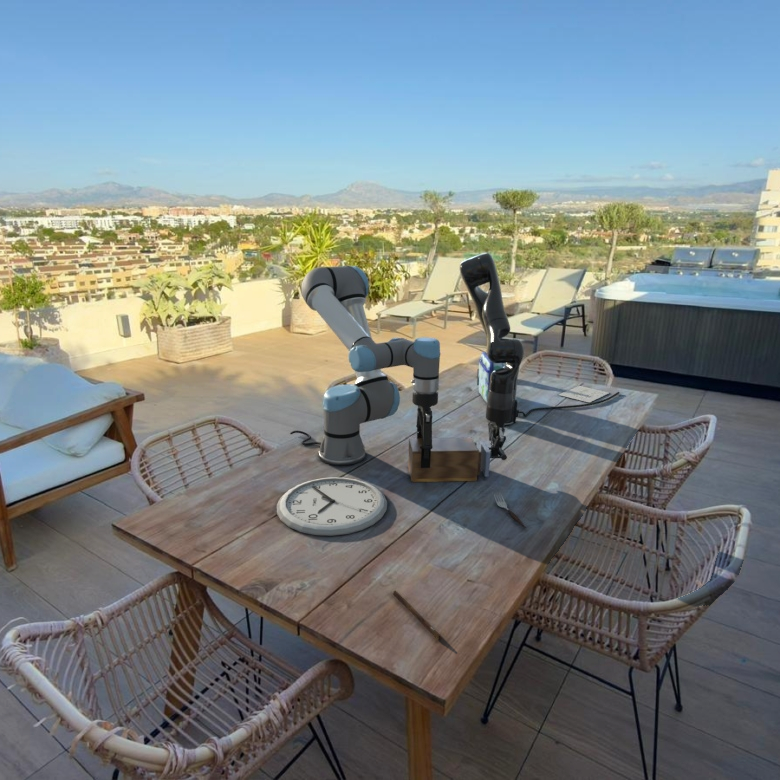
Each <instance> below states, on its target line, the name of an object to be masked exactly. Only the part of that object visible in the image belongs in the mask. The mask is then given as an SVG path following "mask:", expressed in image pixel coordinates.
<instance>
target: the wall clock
mask: <svg viewBox="0 0 780 780" xmlns="http://www.w3.org/2000/svg"><path fill="white" fill-rule="evenodd" d="M387 509H388V500H387V498H386V496H385V494H384V493H383V492H382V491H381V490H380V489H379V488H377V487H376V486H374V485H372V484H371V483H369V482H365V481H362V480H359V479H355V478H349V477H338V476H337V477H335V476H333V477H332V476H331V477H322V478H317V479H312V480H307V481H305V482H302V483H299V484H297V485H295V486H293V487H292V488H290V489H288V490H287V491H286V492H285V493H284V494H283V495H281V496H280V498H279V499H278V502H277V503H276V515H277V517H278V518H279V520H280V521H281V522H282V523H283V524H285V525H286V526H287V527H288V528H290V529H293V530H295V531H297V532H299V533H303V534H308V535H312V536H327V537H328V536H329V537H331V536H332V537H333V536H342V535H350V534H352V533H356V532H361V531H363V530H366V529H368V528H369V527H372V526H373V525H375V524H376V523H378V522H379V521H380V520H381V519H382V518H383V517H384V516H385V514H386V512H387Z"/></svg>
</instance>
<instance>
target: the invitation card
mask: <svg viewBox="0 0 780 780" xmlns="http://www.w3.org/2000/svg"><path fill="white" fill-rule="evenodd" d="M609 394H610V392H609V391H604V390H600V389H595V388H592V387H587V386H582V385H577V386H575V387H573V388H571V389H567V390H566V391H563V392H561V393H558V396H559V397H560V396H561V397H565V398H569V399H572V400H575V401H581V402H584V403H587V404H589V403H593V402H595V401H596V400H598V399H601V398H602V397H604V396H607V395H609Z"/></svg>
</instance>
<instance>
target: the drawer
mask: <svg viewBox="0 0 780 780" xmlns="http://www.w3.org/2000/svg"><path fill="white" fill-rule="evenodd" d="M474 443H475V444H476V446H477V445H478V443H477V442H476V441H474ZM478 450H479V457H478V471H477V476H480V475H481V473H482V474H483V477H485V478H489V477H490V463H491V459H501V460H502V461H506V460H507V459H508V456H507V454H506V452H505V451H504V450H503V447H502V448H499V454H498V456H490V454H491V452H490V451H491V446H487V444H486V442H485V440H479V447H478Z"/></svg>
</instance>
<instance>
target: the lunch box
mask: <svg viewBox="0 0 780 780" xmlns="http://www.w3.org/2000/svg"><path fill="white" fill-rule="evenodd" d="M505 364H506V363H493V362H491V361H490V360H489V358H488V356H487V351H482V352H481V354H480V358H479V360H478V369H479V377H478V378H477V381H476V384H477V385H476V386H478V393H479V395H480V396H481V397H482V399H483V400H484V402H485V404H487V398H488V393H489V386H490V377H491V373H492V372H493V371H494V370H497V369H500V368H502V367H504V365H505Z"/></svg>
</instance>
